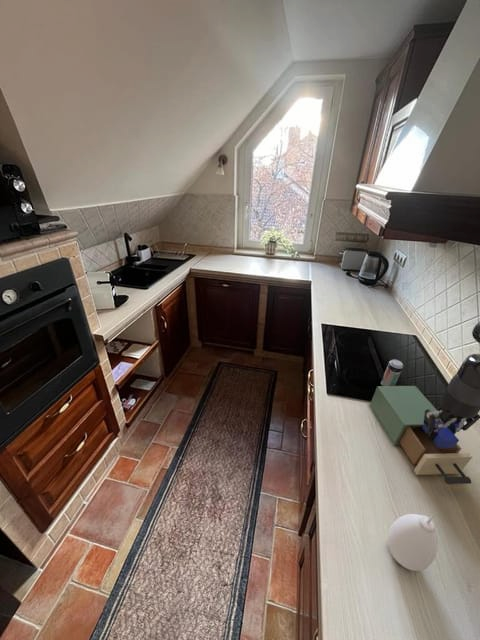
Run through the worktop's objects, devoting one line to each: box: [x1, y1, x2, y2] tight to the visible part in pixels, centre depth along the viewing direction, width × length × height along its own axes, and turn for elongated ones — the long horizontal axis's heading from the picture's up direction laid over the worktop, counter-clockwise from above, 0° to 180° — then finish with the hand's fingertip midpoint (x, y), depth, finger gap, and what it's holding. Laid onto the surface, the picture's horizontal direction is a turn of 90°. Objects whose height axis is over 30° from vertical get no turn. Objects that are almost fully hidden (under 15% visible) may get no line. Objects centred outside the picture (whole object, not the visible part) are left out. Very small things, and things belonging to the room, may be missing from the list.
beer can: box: [380, 358, 404, 386], centre depth 100 cm, size 5×5×12 cm
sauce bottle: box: [387, 513, 439, 572], centre depth 52 cm, size 8×8×18 cm
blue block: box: [422, 422, 460, 449], centre depth 71 cm, size 6×4×4 cm
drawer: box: [399, 426, 473, 485], centre depth 73 cm, size 20×13×8 cm, turn 2°
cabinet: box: [369, 385, 441, 446], centre depth 84 cm, size 16×14×10 cm
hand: (437, 437), depth 71 cm, fingers closed on blue block, 4 cm apart
